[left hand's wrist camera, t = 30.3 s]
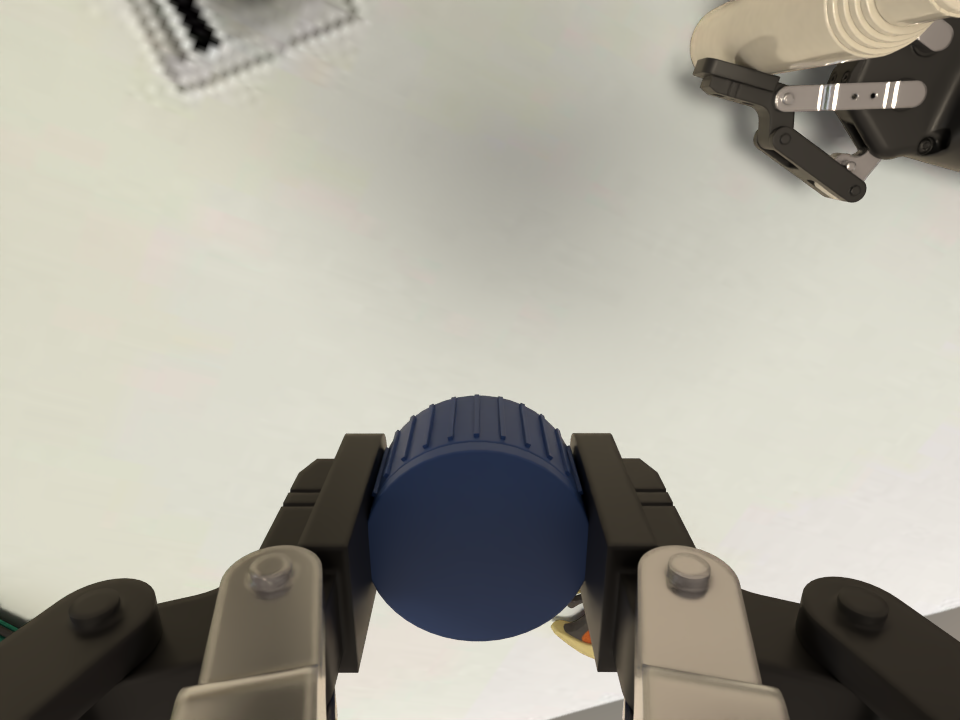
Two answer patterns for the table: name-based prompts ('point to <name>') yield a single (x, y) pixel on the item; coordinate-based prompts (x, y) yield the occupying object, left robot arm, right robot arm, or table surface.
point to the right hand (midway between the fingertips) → (718, 15)
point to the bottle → (812, 31)
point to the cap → (478, 520)
